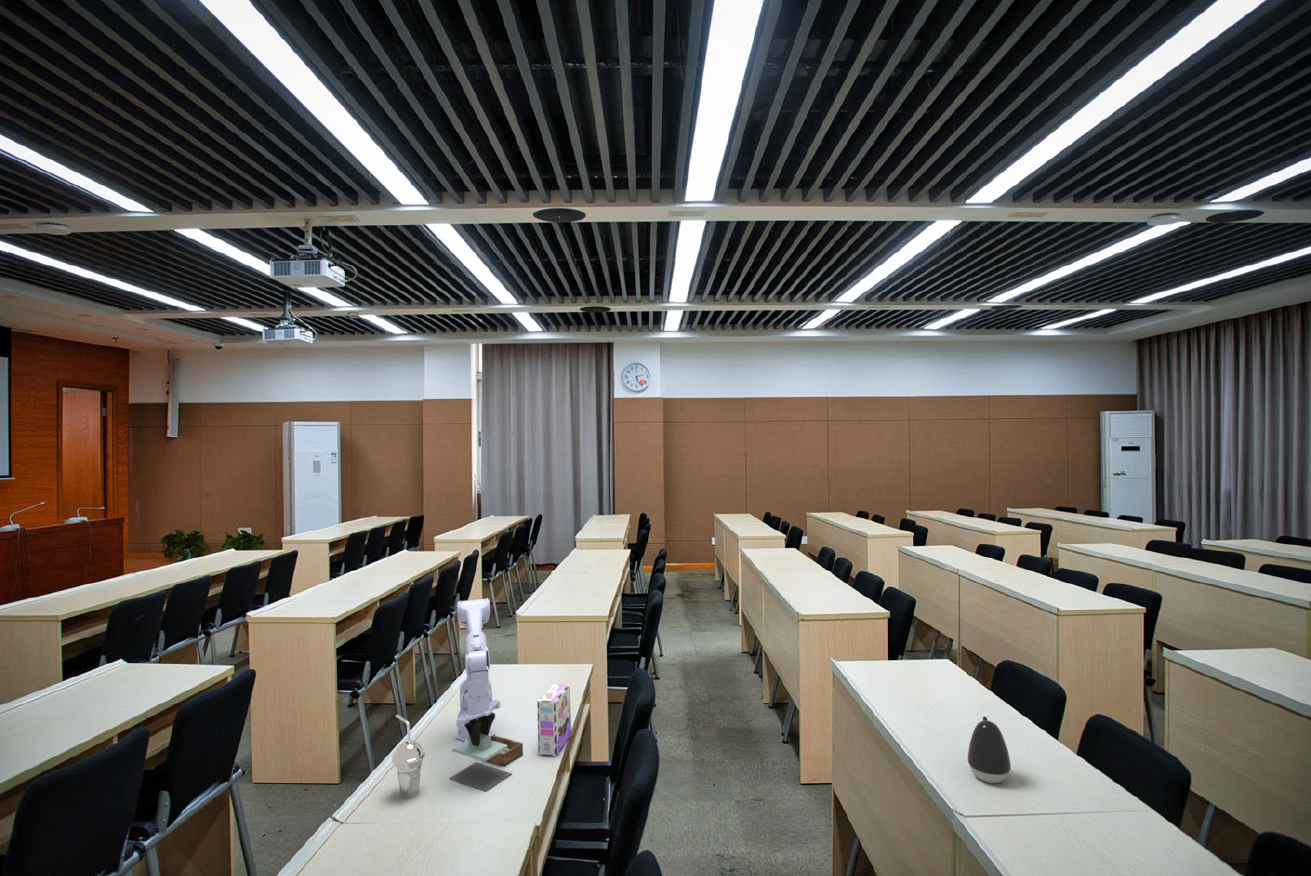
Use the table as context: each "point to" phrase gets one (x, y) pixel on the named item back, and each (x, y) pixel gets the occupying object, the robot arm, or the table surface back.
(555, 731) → the candy box
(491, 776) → the mat
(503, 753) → the chalk box
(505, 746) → the lid
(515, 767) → the table surface
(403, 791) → the cup with straw
